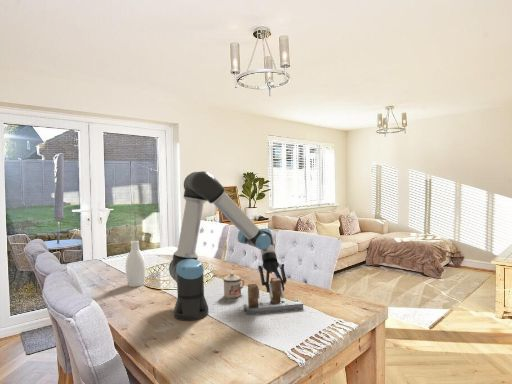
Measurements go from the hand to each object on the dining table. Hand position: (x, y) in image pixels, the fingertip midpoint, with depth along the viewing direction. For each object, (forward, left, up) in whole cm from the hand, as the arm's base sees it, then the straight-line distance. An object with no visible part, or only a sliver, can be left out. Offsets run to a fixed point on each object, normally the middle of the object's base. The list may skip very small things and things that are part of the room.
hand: (277, 297), depth 158 cm
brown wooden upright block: (0, +4, -3) cm, 5 cm away
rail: (-3, -5, -3) cm, 7 cm away
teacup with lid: (-18, +19, -4) cm, 26 cm away
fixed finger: (-12, -3, -3) cm, 13 cm away
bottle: (-72, +51, -4) cm, 88 cm away
